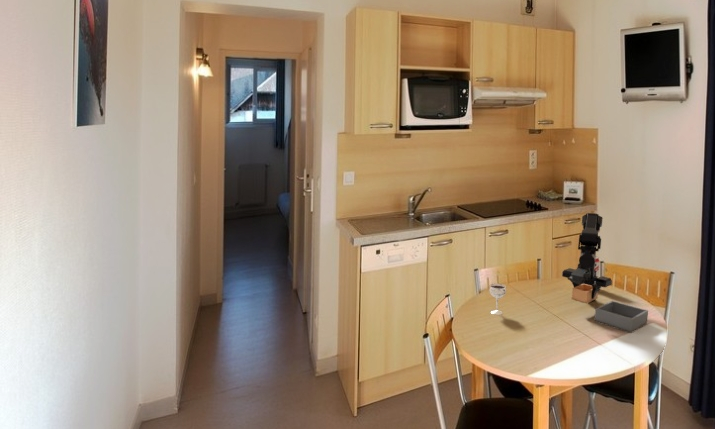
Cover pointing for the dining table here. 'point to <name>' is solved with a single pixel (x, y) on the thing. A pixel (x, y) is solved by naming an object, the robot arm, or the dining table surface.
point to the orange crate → (583, 293)
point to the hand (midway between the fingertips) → (584, 296)
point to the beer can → (597, 265)
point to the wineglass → (497, 295)
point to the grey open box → (621, 316)
